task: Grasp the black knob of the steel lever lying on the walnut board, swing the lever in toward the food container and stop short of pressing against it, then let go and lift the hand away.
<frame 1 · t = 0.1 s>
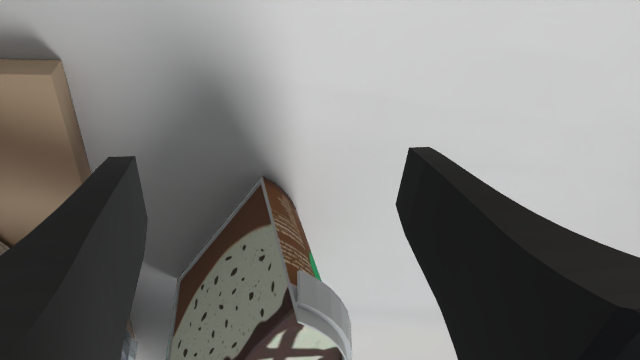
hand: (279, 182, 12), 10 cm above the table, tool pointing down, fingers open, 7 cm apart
food container: (260, 246, 28), on the table
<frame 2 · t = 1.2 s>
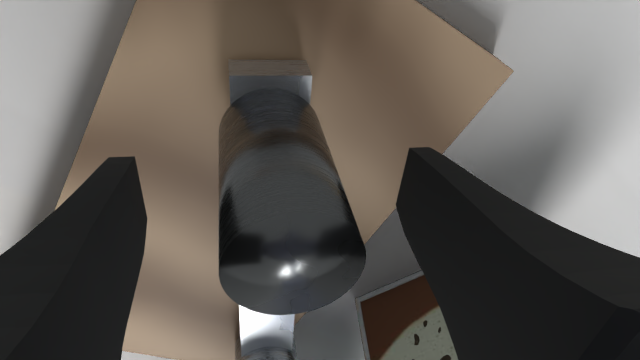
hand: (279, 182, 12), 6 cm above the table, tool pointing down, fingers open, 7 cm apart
walnut board: (235, 190, 19), on the table
lever: (273, 316, 16), point 5 cm above the table, hinge at 28.0°
food container: (443, 292, 26), on the table
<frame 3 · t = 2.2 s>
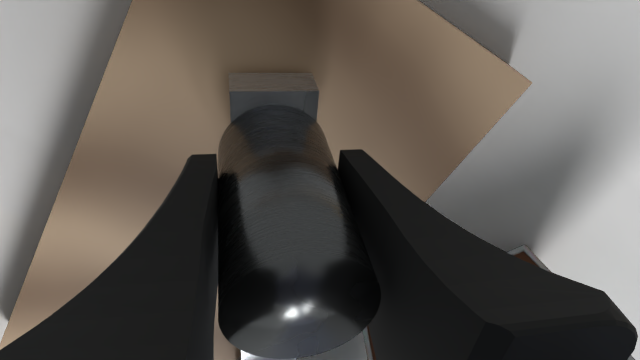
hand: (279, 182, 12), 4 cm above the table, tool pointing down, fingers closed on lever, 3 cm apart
walnut board: (236, 206, 18), on the table
lever: (276, 343, 15), point 5 cm above the table, hinge at 28.0°, touching gripper
food container: (451, 306, 25), on the table
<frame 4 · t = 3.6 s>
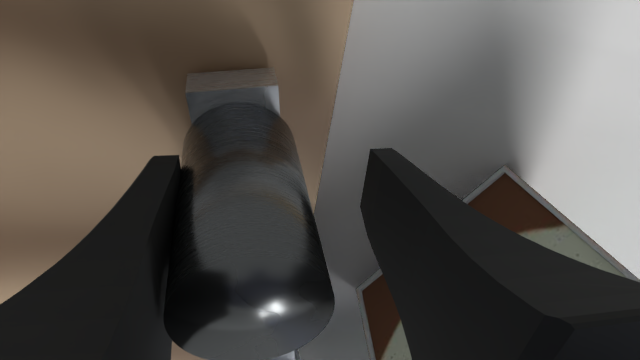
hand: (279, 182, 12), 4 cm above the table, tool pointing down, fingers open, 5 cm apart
walnut board: (154, 231, 18), on the table
lever: (263, 343, 15), point 5 cm above the table, hinge at 8.6°, touching gripper
food container: (459, 252, 23), on the table
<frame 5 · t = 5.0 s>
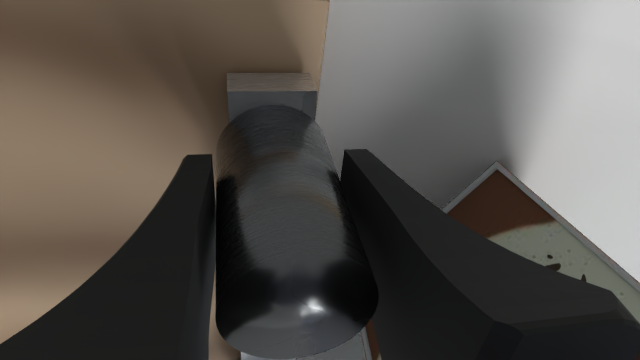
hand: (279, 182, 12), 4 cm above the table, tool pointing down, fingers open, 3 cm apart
walnut board: (146, 237, 18), on the table
lever: (276, 343, 15), point 5 cm above the table, hinge at 2.3°
food container: (456, 250, 22), on the table
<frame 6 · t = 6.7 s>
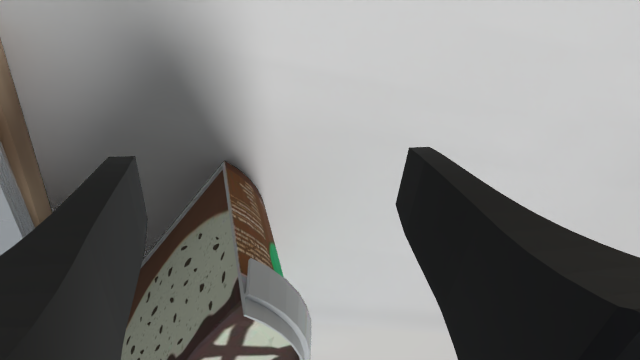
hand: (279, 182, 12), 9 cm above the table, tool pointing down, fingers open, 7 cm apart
food container: (224, 237, 26), on the table
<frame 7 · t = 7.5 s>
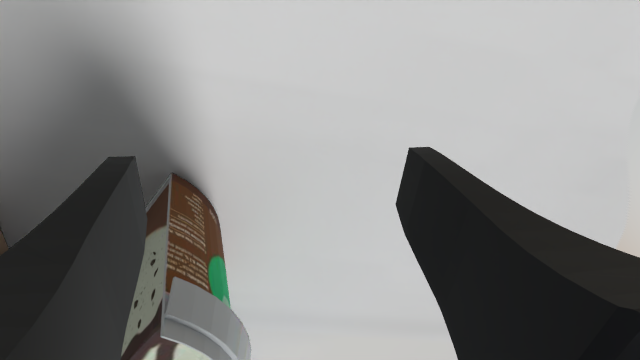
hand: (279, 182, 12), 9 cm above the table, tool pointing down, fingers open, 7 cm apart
food container: (179, 248, 26), on the table
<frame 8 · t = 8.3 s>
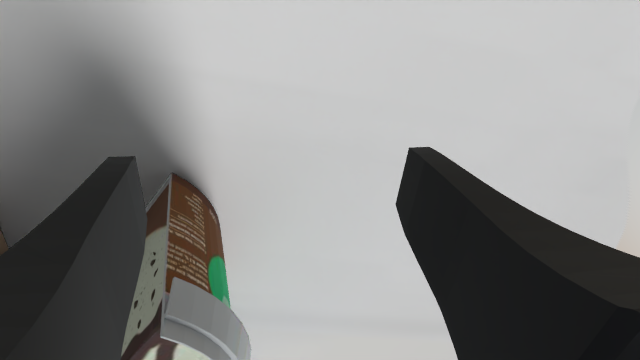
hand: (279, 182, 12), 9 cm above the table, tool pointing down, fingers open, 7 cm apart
food container: (179, 248, 26), on the table
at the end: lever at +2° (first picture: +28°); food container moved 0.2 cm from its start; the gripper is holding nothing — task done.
